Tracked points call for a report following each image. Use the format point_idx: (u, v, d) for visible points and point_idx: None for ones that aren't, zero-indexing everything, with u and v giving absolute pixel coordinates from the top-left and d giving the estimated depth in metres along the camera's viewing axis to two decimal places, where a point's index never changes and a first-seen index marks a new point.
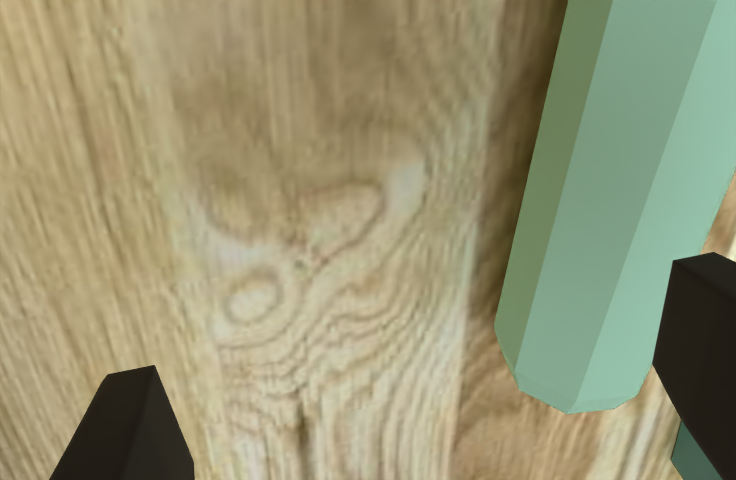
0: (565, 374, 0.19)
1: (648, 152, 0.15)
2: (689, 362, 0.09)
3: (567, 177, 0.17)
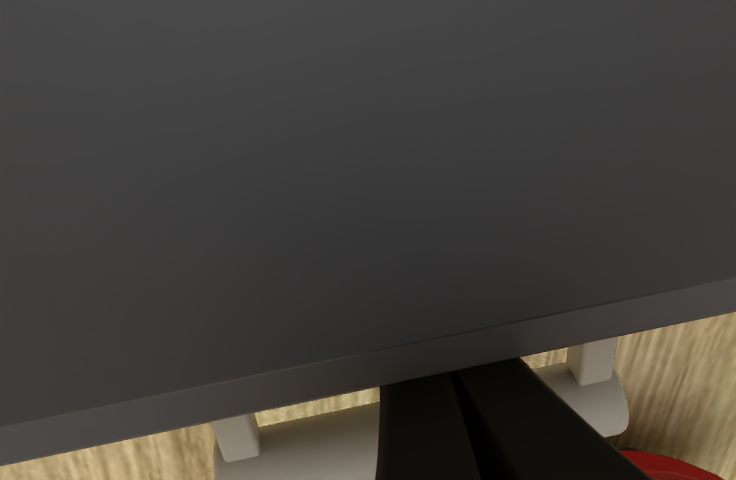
0: None
1: None
2: None
3: None
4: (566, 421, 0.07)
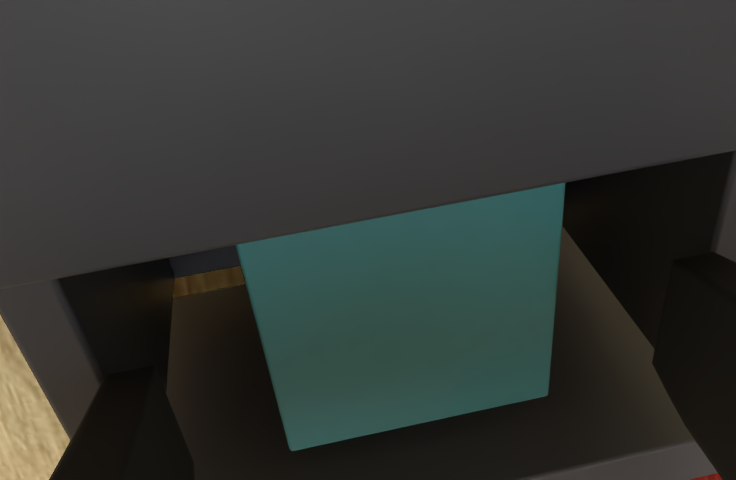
0: None
1: None
2: (689, 362, 0.09)
3: None
4: None
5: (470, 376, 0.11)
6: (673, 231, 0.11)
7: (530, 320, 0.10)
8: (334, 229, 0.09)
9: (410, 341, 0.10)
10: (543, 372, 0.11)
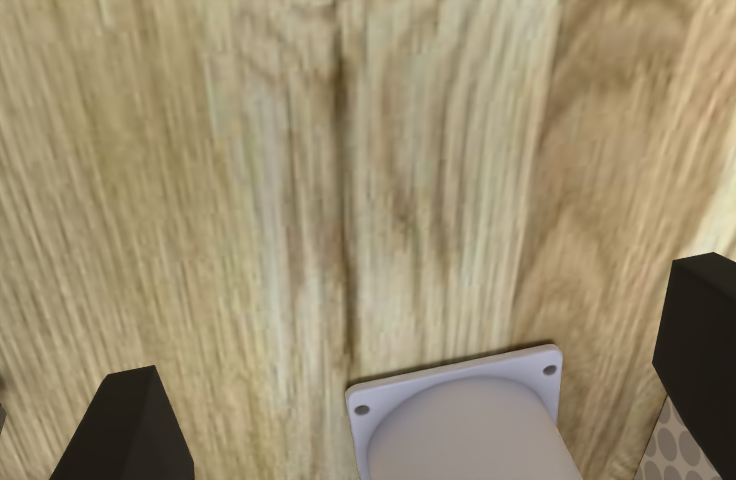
0: None
1: None
2: (689, 362, 0.09)
3: None
4: None
5: None
6: None
7: None
8: None
9: None
10: None
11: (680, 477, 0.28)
